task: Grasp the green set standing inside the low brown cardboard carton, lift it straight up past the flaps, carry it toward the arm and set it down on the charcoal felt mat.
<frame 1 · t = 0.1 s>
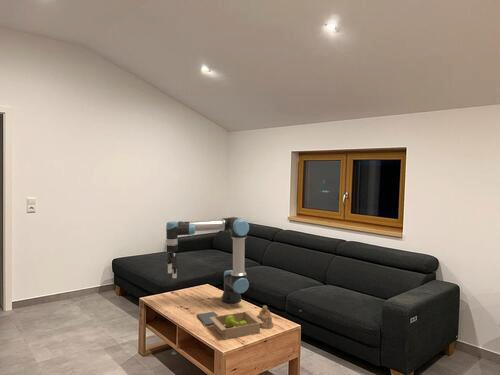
hand: (172, 275, 265), 28 cm above the table, fingers open, 13 cm apart
mat: (209, 319, 260), on the table
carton: (236, 329, 245), on the table
dumbbell: (236, 329, 245), resting in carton
statue: (264, 326, 251), on the table
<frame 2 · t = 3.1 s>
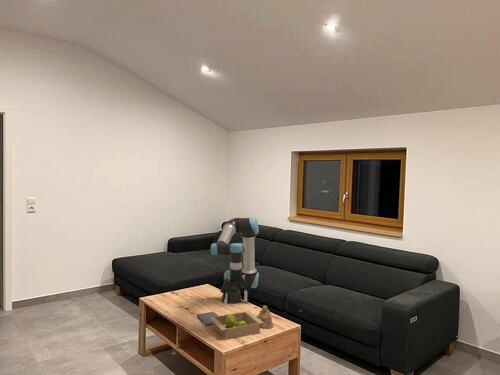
hand: (235, 302, 244), 17 cm above the table, fingers open, 13 cm apart
nothing on the table moved.
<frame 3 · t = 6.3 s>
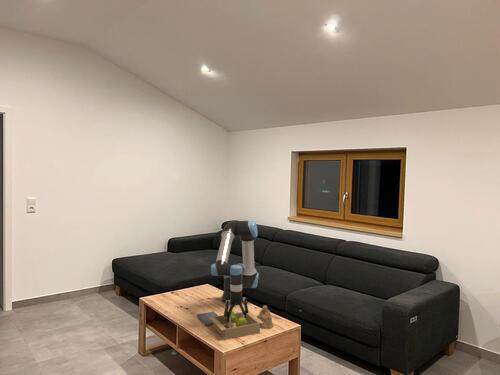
hand: (236, 325, 245), 2 cm above the table, fingers closed on dumbbell, 8 cm apart
dumbbell: (236, 326, 245), point 2 cm above the table, touching gripper
everything else where it was.
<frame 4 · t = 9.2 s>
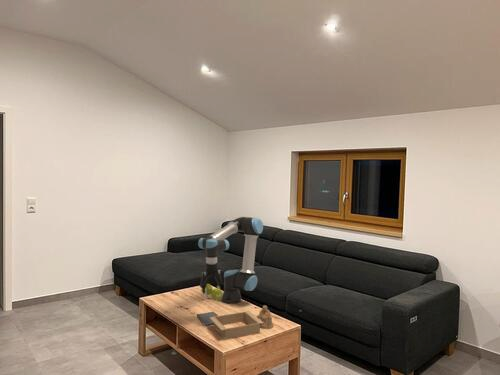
hand: (211, 296, 258), 16 cm above the table, fingers closed on dumbbell, 8 cm apart
dumbbell: (211, 297, 258), point 15 cm above the table, touching gripper
everything else where it was.
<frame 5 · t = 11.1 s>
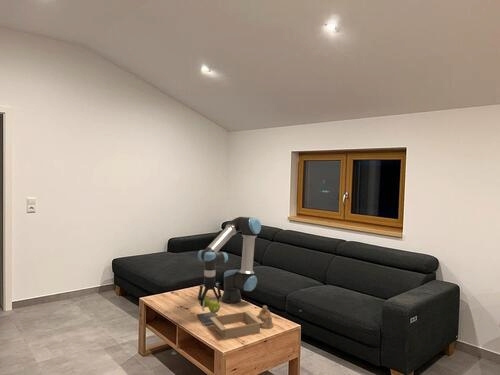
hand: (209, 309, 259), 7 cm above the table, fingers closed on dumbbell, 8 cm apart
dumbbell: (209, 310, 260), point 7 cm above the table, touching gripper
everything else where it was.
when the fingers open (3 cm above the table, at t = 12.4 s): dumbbell stays where it is, resting on mat.
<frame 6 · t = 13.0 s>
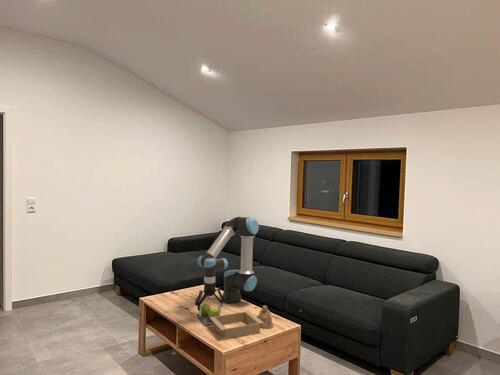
hand: (209, 313, 260), 4 cm above the table, fingers open, 13 cm apart
dumbbell: (209, 317, 260), point 1 cm above the table, touching mat
everything else where it was.
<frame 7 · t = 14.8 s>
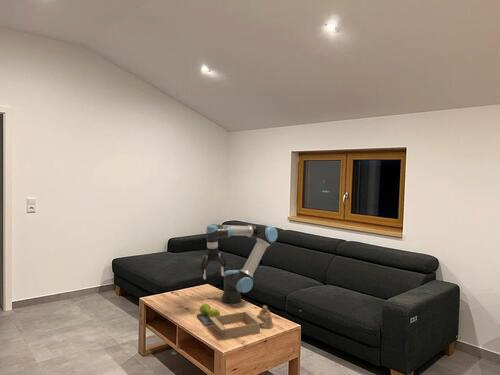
hand: (213, 277, 274), 25 cm above the table, fingers open, 13 cm apart
nothing on the table moved.
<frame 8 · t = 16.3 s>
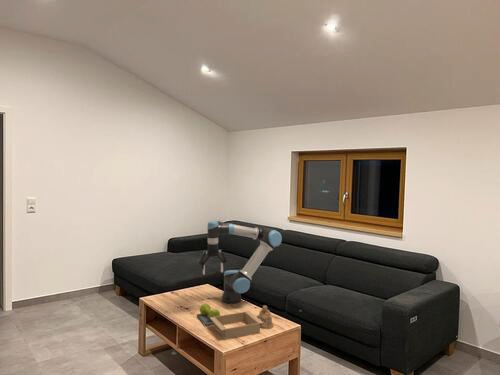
hand: (212, 273, 277), 27 cm above the table, fingers open, 13 cm apart
nothing on the table moved.
at the end: dumbbell inside the target area on the mat (0.2 cm from its centre), point 1.3 cm above the mat's base; the gripper is holding nothing; dumbbell tilted 0° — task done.
